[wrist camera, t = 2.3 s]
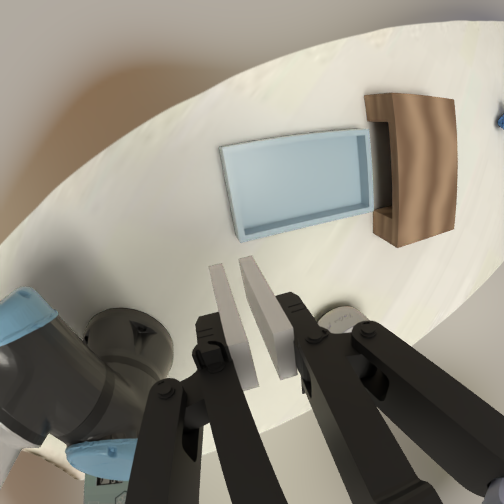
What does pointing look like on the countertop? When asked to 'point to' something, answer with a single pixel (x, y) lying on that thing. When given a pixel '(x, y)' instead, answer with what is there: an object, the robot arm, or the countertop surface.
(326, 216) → the tray
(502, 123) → the grapes
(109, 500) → the device
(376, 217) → the shelf
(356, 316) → the teacup
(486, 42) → the countertop surface
